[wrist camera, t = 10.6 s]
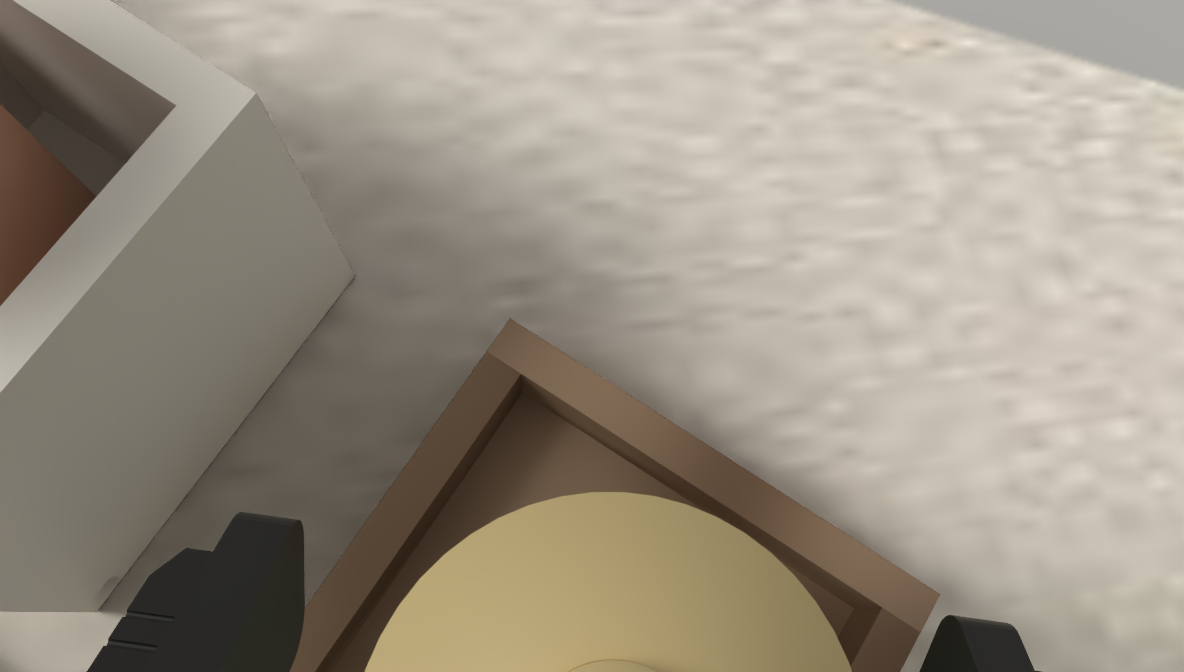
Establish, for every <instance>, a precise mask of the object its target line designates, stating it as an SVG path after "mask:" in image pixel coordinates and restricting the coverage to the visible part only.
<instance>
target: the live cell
mask: <svg viewBox="0 0 1184 672" xmlns="http://www.w3.org/2000/svg"><path fill="white" fill-rule="evenodd" d="M365 672H852V670H851V667H850V664H849V661H848V659H847V657H846V655H845V653H844V651H843V649H842V647H841V644H840V642H839V640H838V638H837V636H836V634H835V632H834V630H833V628H832V627H831V625H830V623H829V622H828V620H827V619H826V617H825V615H824V614H823V612H822V611H821V609H820V607H819V606H818V604H817V603H816V601H815V600H814V599H813V598H812V596H811V595H810V594H809V593H808V591H807V590H806V589H805V588H804V586H803V585H802V584H801V583H800V581H799V580H798V579H797V578H796V576H795V575H794V574H793V573H792V572H791V571H790V570H789V569H787V568H786V567H785V566H784V565H783V564H782V563H781V562H780V561H779V560H778V559H777V558H776V557H775V556H774V555H773V554H772V553H771V552H770V551H768V550H767V549H766V548H764V547H763V546H762V545H760V544H759V543H758V542H756V541H755V540H754V539H752V538H751V537H750V536H748V535H747V534H746V533H744V532H743V531H741V530H739V529H737V528H735V527H734V526H732V525H730V524H728V523H727V522H725V521H723V520H721V519H720V518H718V517H716V516H714V515H711V514H709V513H706V512H704V511H701V510H699V509H697V508H694V507H692V506H689V505H687V504H683V503H679V502H676V501H672V500H668V499H664V498H661V497H657V496H651V495H643V494H635V493H627V492H590V493H582V494H575V495H568V496H560V497H557V498H553V499H549V500H546V501H542V502H538V503H535V504H531V505H528V506H526V507H523V508H521V509H519V510H516V511H514V512H511V513H509V514H507V515H504V516H502V517H499V518H498V519H496V520H494V521H492V522H491V523H489V524H487V525H486V526H484V527H482V528H480V529H479V530H477V531H475V532H474V533H472V534H470V535H469V536H468V537H466V538H465V539H464V540H462V541H461V542H460V543H459V544H457V545H456V546H455V547H453V548H452V549H451V550H449V551H448V552H447V553H446V554H444V555H443V556H442V557H441V558H440V559H439V560H438V561H437V562H436V563H435V564H434V565H433V566H432V567H431V568H430V569H429V570H428V571H427V572H426V573H425V574H424V575H423V576H422V577H421V578H420V579H419V580H418V582H417V583H416V584H415V585H414V587H413V588H412V589H411V590H410V592H409V593H408V594H407V596H406V597H405V598H404V599H403V601H402V602H401V603H400V605H399V606H398V607H397V609H396V611H395V612H394V614H393V616H392V617H391V619H390V621H389V622H388V624H387V626H386V627H385V629H384V631H383V632H382V634H381V636H380V638H379V640H378V642H377V644H376V647H375V649H374V651H373V653H372V656H371V658H370V660H369V662H368V665H367V667H366V669H365Z"/></svg>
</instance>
